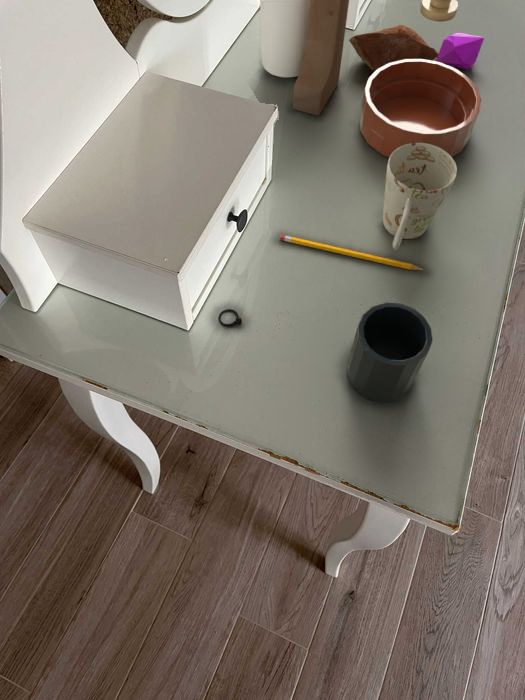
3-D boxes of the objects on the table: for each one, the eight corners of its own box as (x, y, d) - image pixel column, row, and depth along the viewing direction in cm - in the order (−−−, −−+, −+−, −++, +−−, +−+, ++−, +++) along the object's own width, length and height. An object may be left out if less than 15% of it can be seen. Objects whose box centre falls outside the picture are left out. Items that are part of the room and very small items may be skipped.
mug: (440, 207, 81) (461, 150, 72) (424, 277, 75) (446, 224, 66) (381, 194, 82) (395, 136, 73) (361, 261, 76) (374, 207, 67)
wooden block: (319, 117, 90) (331, -2, 74) (292, 109, 91) (298, -10, 75) (338, 83, 94) (354, -37, 78) (312, 76, 95) (323, -44, 79)
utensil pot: (423, 390, 67) (445, 351, 59) (363, 411, 66) (377, 374, 58) (394, 336, 70) (411, 294, 63) (336, 355, 69) (346, 314, 61)
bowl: (488, 151, 86) (502, 117, 81) (388, 179, 83) (396, 145, 78) (435, 84, 94) (445, 49, 89) (341, 107, 91) (346, 72, 86)
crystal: (455, 49, 98) (463, 22, 94) (478, 66, 96) (488, 39, 92) (433, 60, 97) (440, 34, 93) (456, 77, 95) (465, 51, 91)
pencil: (281, 236, 78) (281, 233, 78) (423, 269, 76) (425, 266, 75) (279, 241, 78) (279, 237, 77) (422, 274, 75) (424, 270, 75)
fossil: (450, 53, 92) (429, 5, 84) (424, 99, 92) (400, 56, 84) (386, 48, 100) (361, 4, 92) (362, 90, 100) (335, 50, 93)
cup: (291, 92, 93) (296, 2, 80) (249, 72, 95) (248, -19, 83) (321, 65, 96) (330, -25, 84) (280, 46, 98) (283, -44, 86)
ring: (215, 324, 72) (236, 332, 71) (214, 319, 71) (235, 327, 70) (225, 309, 73) (246, 317, 72) (224, 304, 72) (245, 312, 71)
